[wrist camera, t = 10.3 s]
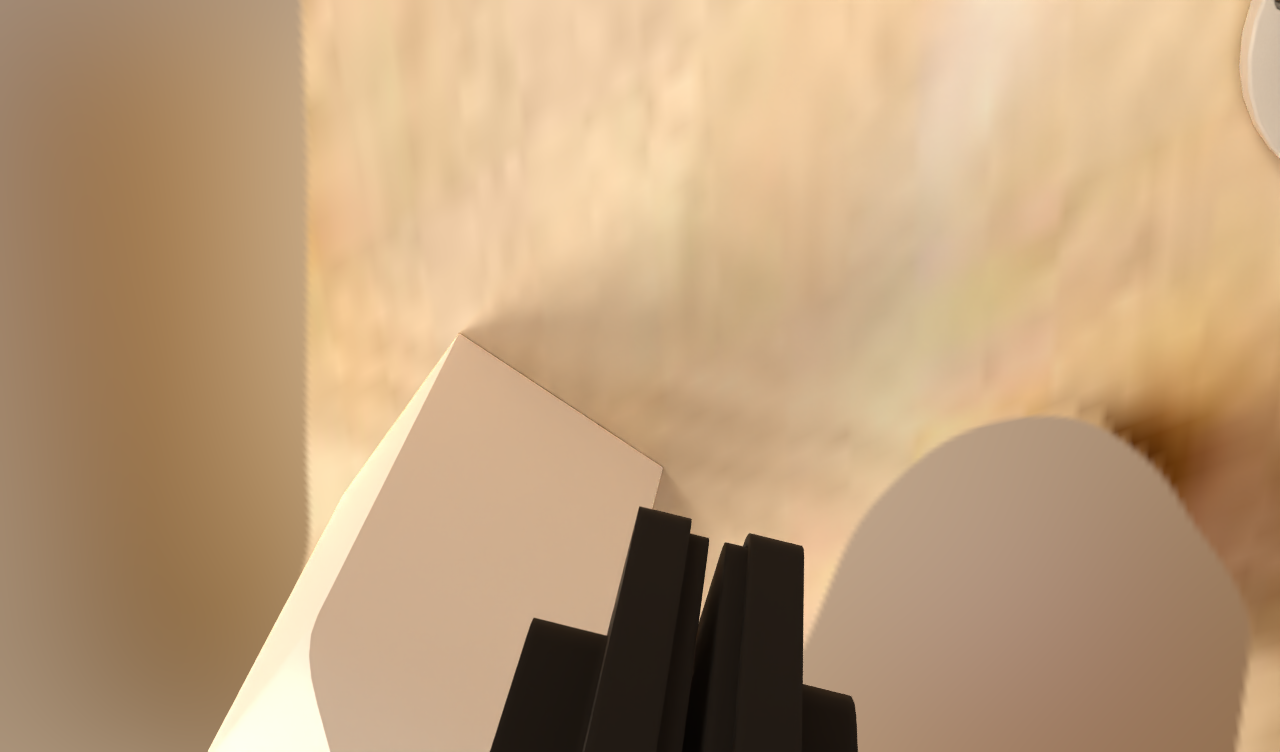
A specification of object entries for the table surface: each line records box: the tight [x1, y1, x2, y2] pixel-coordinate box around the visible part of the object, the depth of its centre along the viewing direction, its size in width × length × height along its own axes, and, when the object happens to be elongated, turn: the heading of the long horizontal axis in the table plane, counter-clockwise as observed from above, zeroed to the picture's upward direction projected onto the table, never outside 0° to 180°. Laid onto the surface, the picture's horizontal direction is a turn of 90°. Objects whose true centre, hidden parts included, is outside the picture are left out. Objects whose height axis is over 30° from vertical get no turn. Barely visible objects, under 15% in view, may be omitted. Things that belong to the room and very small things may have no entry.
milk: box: [208, 333, 663, 752], centre depth 42 cm, size 12×12×26 cm
